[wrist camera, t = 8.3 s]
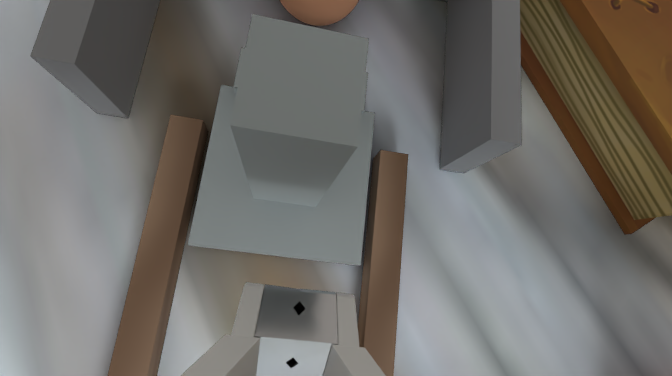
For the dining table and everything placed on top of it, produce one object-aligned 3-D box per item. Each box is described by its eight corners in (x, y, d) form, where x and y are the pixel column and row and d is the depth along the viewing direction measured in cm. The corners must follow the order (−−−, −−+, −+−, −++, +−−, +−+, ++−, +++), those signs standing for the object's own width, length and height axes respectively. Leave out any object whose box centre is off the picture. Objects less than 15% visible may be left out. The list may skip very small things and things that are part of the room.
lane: (398, 162, 20) (408, 154, 19) (362, 657, 15) (371, 699, 13) (178, 126, 18) (170, 114, 17) (51, 669, 13) (24, 718, 12)
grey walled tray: (468, -13, 24) (518, -84, 19) (463, 173, 21) (521, 144, 16) (156, -88, 21) (120, -195, 16) (96, 113, 18) (30, 56, 13)
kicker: (370, 105, 20) (462, -48, 10) (355, 265, 18) (451, 264, 8) (227, 79, 19) (177, -121, 9) (193, 246, 17) (81, 218, 7)
